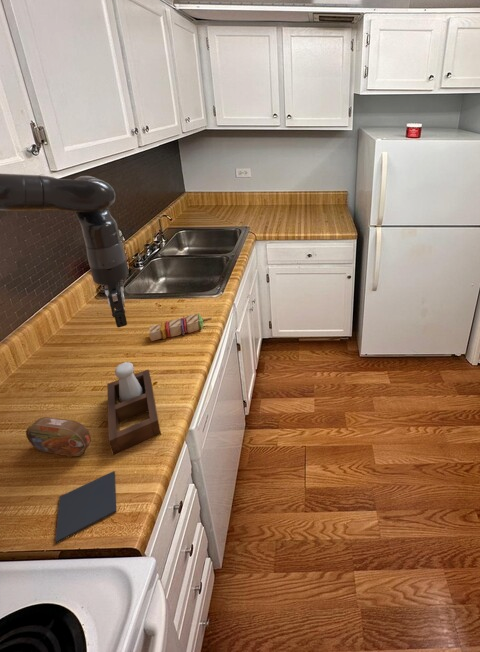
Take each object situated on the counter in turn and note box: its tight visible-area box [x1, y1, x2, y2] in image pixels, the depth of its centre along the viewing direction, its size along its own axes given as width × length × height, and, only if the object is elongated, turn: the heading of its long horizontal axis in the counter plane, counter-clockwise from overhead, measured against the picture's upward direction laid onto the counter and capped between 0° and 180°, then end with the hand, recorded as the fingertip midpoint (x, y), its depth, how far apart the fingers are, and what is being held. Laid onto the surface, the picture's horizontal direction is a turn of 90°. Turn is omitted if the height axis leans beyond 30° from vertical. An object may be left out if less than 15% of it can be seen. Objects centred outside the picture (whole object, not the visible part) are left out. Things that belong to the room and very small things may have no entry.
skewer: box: [148, 313, 212, 342], centre depth 119 cm, size 21×6×5 cm, turn 115°
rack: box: [106, 369, 162, 456], centre depth 87 cm, size 10×19×5 cm, turn 31°
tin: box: [25, 416, 92, 457], centre depth 78 cm, size 15×3×8 cm, turn 82°
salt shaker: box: [114, 361, 144, 403], centre depth 89 cm, size 6×6×13 cm
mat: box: [54, 470, 117, 544], centre depth 68 cm, size 10×9×1 cm
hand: (121, 316), depth 85 cm, fingers open, 8 cm apart
